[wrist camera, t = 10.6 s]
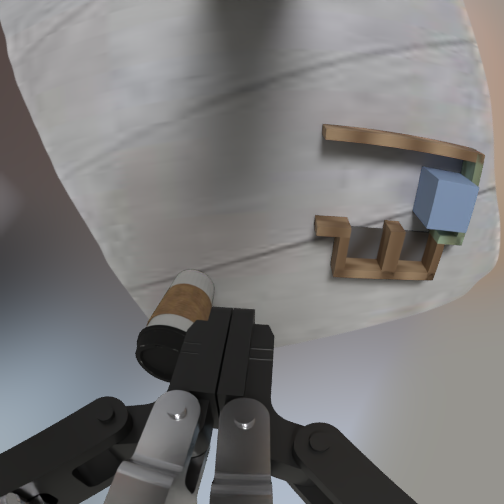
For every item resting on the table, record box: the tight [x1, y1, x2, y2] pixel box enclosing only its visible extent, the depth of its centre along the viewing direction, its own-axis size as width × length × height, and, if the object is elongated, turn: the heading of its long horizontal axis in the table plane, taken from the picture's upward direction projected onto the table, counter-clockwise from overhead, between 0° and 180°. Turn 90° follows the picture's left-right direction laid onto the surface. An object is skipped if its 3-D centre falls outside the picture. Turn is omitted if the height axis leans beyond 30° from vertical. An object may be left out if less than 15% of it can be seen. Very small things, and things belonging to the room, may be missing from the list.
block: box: [413, 166, 479, 233], centre depth 32 cm, size 6×6×5 cm
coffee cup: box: [135, 270, 214, 382], centre depth 39 cm, size 8×8×15 cm
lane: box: [314, 124, 485, 280], centre depth 35 cm, size 20×18×3 cm
